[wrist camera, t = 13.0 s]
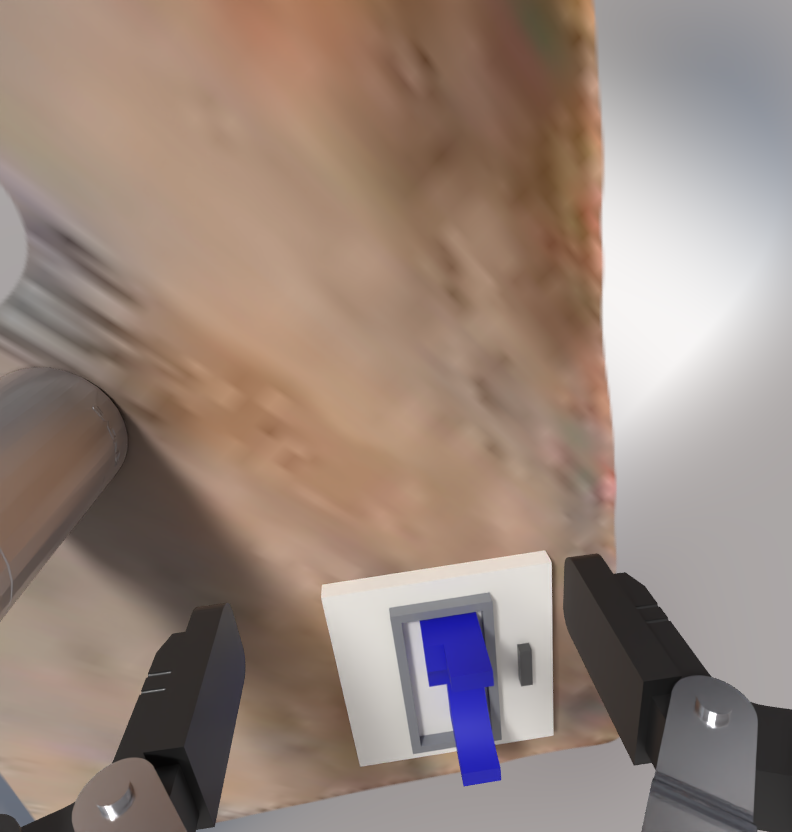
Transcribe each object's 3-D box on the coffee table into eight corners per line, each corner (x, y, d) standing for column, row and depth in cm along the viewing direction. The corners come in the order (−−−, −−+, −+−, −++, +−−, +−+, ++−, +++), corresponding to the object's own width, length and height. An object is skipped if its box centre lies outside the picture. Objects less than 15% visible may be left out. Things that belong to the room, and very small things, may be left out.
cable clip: (419, 617, 44) (429, 680, 38) (474, 609, 44) (492, 670, 38) (433, 720, 49) (444, 789, 43) (483, 712, 49) (501, 780, 43)
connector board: (359, 751, 52) (360, 777, 49) (322, 584, 44) (320, 607, 41) (547, 720, 52) (557, 745, 50) (545, 550, 44) (556, 570, 42)
